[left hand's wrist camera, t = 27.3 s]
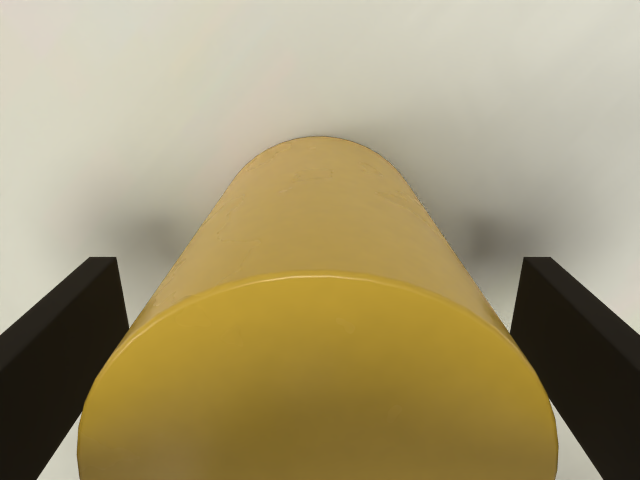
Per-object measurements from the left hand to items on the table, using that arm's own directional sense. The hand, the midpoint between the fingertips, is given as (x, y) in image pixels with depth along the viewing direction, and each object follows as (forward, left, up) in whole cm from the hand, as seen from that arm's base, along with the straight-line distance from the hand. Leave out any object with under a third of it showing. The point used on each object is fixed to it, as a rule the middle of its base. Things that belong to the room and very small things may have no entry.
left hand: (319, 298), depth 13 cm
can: (0, 0, -5) cm, 5 cm away
